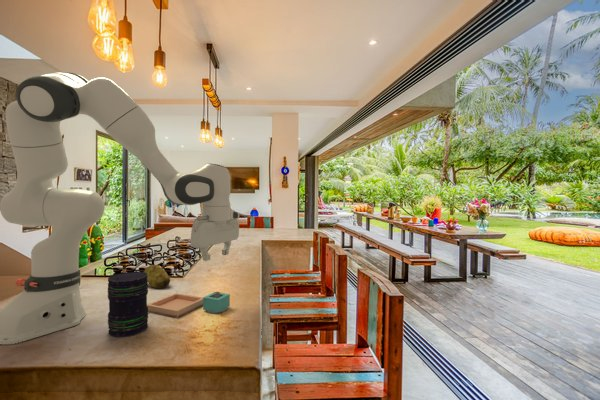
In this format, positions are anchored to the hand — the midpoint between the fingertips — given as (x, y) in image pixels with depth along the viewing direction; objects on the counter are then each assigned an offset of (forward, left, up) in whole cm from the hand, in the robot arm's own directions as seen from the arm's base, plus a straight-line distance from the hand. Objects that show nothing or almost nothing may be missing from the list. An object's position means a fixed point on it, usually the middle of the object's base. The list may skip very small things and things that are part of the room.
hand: (216, 257), depth 102 cm
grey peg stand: (0, 0, -17) cm, 17 cm away
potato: (+11, +38, -17) cm, 43 cm away
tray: (-4, +13, -17) cm, 22 cm away
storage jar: (-22, +13, -17) cm, 31 cm away
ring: (0, 0, -17) cm, 17 cm away
